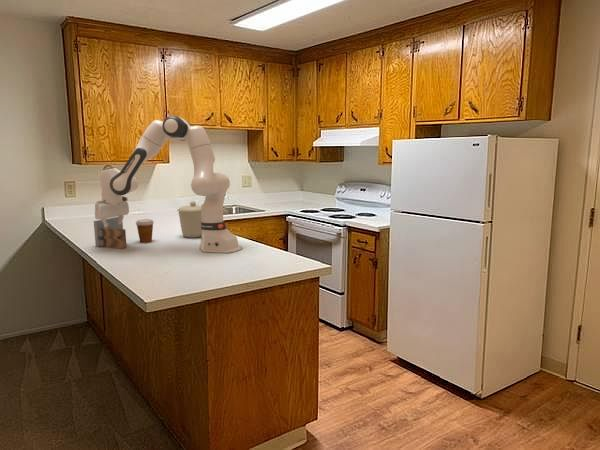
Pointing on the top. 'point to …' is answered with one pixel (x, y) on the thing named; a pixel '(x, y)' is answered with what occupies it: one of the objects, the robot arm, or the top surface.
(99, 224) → the cabinet side
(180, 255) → the top surface
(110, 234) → the walnut door
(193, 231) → the canister
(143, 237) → the disposable coffee cup
